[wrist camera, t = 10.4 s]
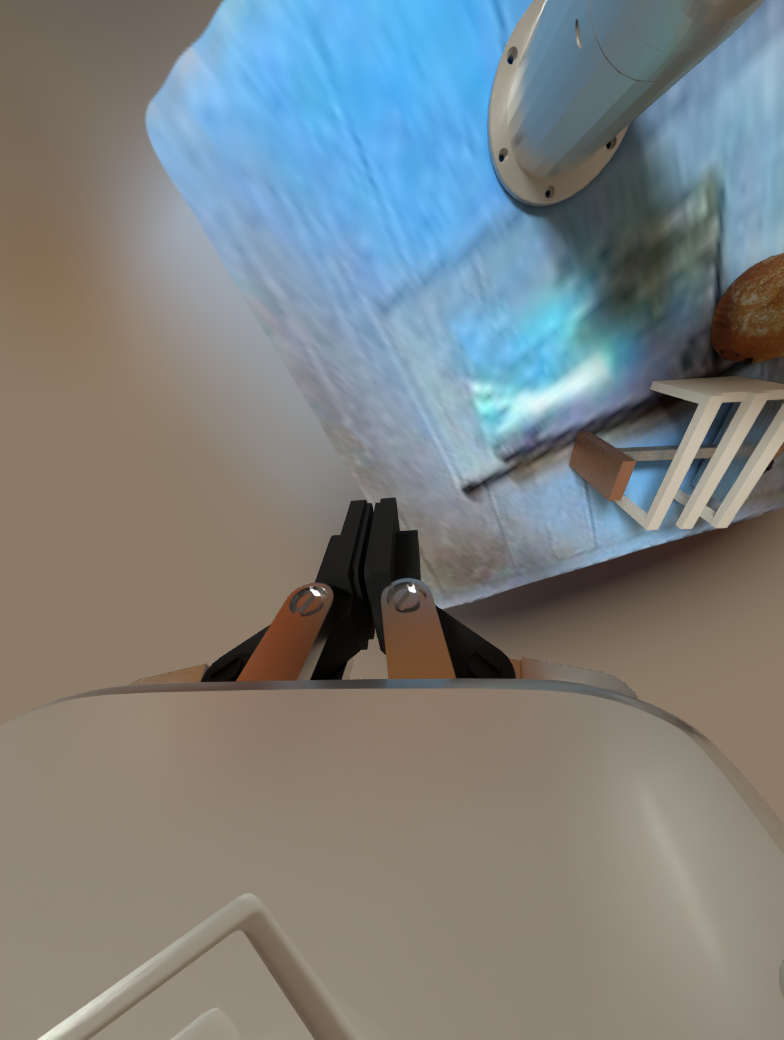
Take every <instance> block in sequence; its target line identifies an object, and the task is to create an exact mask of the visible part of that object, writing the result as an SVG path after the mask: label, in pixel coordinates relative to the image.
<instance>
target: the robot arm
mask: <svg viewBox="0 0 784 1040" xmlns="http://www.w3.org/2000/svg"><path fill="white" fill-rule="evenodd" d="M764 1H765V0H534V1H533V2H532V3H531V4H530V6H529V7H528V9H527V10H526V11H525V13H524V14H523V16H522V17H521V18H520V20H519V21H518V23H517V25H516V27H515V28H514V30H513V32H512V34H511V36H510V38H509V40H508V42H507V44H506V46H505V49H504V51H503V54H502V56H501V59H500V62H499V65H498V68H497V71H496V74H495V77H494V81H493V84H492V89H491V94H490V100H489V105H488V118H487V136H488V147H489V152H490V157H491V162H492V165H493V167H494V170H495V173H496V175H497V178H498V179H499V181H500V182H501V184H502V185H503V187H504V189H505V190H506V191H507V192H508V193H509V194H510V195H511V196H512V197H513V198H515V199H517V200H518V201H520V202H522V203H524V204H527V205H532V206H550V205H553V204H557V203H560V202H562V201H564V200H566V199H568V198H570V197H572V196H573V195H575V194H576V193H577V192H579V191H580V190H582V189H583V188H584V187H585V186H587V185H588V184H589V183H590V182H591V181H592V180H593V179H594V178H595V177H596V176H597V175H598V174H599V173H600V172H601V170H602V169H603V168H604V167H605V166H606V164H607V163H608V162H609V161H610V159H611V158H612V156H613V155H614V153H615V152H616V150H617V149H618V147H619V145H620V143H621V141H622V139H623V137H624V135H625V133H626V131H627V129H628V127H629V125H630V123H631V122H632V121H634V120H635V119H636V118H637V117H638V116H639V115H640V114H642V113H643V112H644V111H645V110H646V109H647V108H648V107H650V106H651V105H652V104H653V103H654V102H655V101H656V100H658V99H659V98H660V97H661V96H662V95H663V94H664V93H665V92H667V91H668V90H669V89H670V88H671V87H672V86H673V85H675V84H676V83H677V82H678V81H679V80H680V79H681V78H683V77H684V76H685V75H686V74H687V73H688V72H689V71H691V70H692V69H693V68H694V67H695V66H696V65H697V64H699V63H700V62H701V61H702V60H703V59H704V58H705V57H707V56H708V55H709V54H710V53H711V52H713V51H714V50H715V49H716V48H717V47H718V46H719V45H721V44H722V43H723V42H724V41H725V40H726V39H727V38H729V37H730V36H731V35H732V34H733V33H734V32H735V31H736V30H737V29H738V28H739V27H741V26H742V25H743V23H744V22H745V21H746V20H747V19H748V18H749V17H750V16H751V15H752V14H753V13H754V12H755V11H756V10H757V9H758V8H759V7H760V6H761V5H762V4H763V3H764ZM508 59H511V60H512V65H511V64H509V63H508V62H507V60H508ZM606 144H608V145H609V147H608V149H607V148H606ZM499 156H503V162H500V161H499ZM546 192H548V193H549V197H548V198H547V197H546V196H545V193H546ZM375 629H376V633H377V638H378V641H379V645H380V649H381V651H382V652H383V653H384V654H385V655H386V658H387V669H388V679H368V680H367V679H363V680H349V677H350V673H351V670H352V667H353V661H354V660H353V656H354V655H356V654H357V653H358V652H359V651H360V650H364V649H365V650H367V647H368V640H369V639H373V638H374V634H375ZM0 1040H784V823H783V822H782V821H781V819H780V818H779V817H778V816H777V814H776V813H775V812H774V810H772V808H771V807H770V806H769V805H768V803H767V802H766V801H765V799H764V798H763V797H762V796H761V795H760V794H759V792H758V791H757V790H756V789H755V787H754V786H753V785H752V784H751V783H750V782H749V780H748V779H747V778H746V777H745V776H744V775H743V774H742V772H741V771H740V770H739V769H738V768H737V767H736V766H735V765H734V764H733V762H732V761H731V760H730V759H729V758H728V757H727V756H726V755H725V754H724V753H723V752H722V751H721V750H720V749H719V748H718V747H717V746H716V745H715V744H714V743H713V742H711V741H710V740H709V739H708V738H707V737H706V736H704V735H703V734H702V733H701V732H700V731H698V730H697V729H696V728H694V727H693V726H691V725H690V724H688V723H687V722H685V721H684V720H682V719H680V718H679V717H677V716H675V715H673V714H671V713H669V712H667V711H665V710H663V709H661V708H658V707H656V706H654V705H652V704H649V703H647V702H644V701H641V700H639V699H638V698H637V696H636V694H635V692H634V691H633V690H632V689H631V688H629V686H628V685H627V684H626V683H625V682H623V681H621V680H620V679H618V678H617V677H615V676H613V675H610V674H607V673H604V672H601V671H595V670H590V669H585V668H580V667H574V666H569V665H564V664H558V663H553V662H548V661H542V660H537V659H532V658H526V657H521V660H516V659H510V658H508V657H507V656H506V655H505V654H504V653H503V652H502V651H501V650H499V649H498V648H496V647H495V646H493V645H492V644H490V643H489V642H488V641H486V640H485V639H483V638H482V637H480V636H479V635H478V634H476V633H475V632H473V631H472V630H470V629H469V628H467V627H466V626H465V625H463V624H462V623H460V622H459V621H457V620H456V619H454V618H453V617H451V616H450V615H449V614H447V613H446V612H444V611H443V610H442V609H440V608H439V607H437V606H436V605H435V603H434V599H433V596H432V592H431V591H430V589H429V587H428V586H427V585H426V584H425V583H424V582H422V581H421V574H420V556H419V542H418V531H417V530H411V531H400V528H399V520H398V512H397V503H396V498H383V499H381V501H380V503H376V504H375V509H374V511H373V506H372V503H367V501H366V500H357V501H351V503H350V506H349V509H348V512H347V516H346V519H345V522H344V525H343V529H342V532H341V535H333V536H332V537H331V538H330V541H329V544H328V547H327V549H326V553H325V555H324V558H323V561H322V564H321V567H320V569H319V572H318V575H317V578H316V581H315V583H310V584H306V585H303V586H301V587H299V588H297V589H296V590H295V591H293V592H292V593H291V594H290V595H289V596H288V598H287V599H286V601H285V602H284V604H283V605H282V607H281V609H280V610H279V612H278V614H277V615H276V617H275V618H274V620H273V622H272V623H271V624H270V625H269V626H267V627H266V628H264V629H263V630H261V631H260V632H258V633H257V634H255V635H254V636H252V637H251V638H249V639H248V640H246V641H245V642H243V643H242V644H240V645H238V646H237V647H236V648H234V649H232V650H231V651H229V652H228V653H226V654H225V655H223V656H222V657H220V658H219V659H218V660H217V661H215V662H214V663H213V664H212V665H211V666H210V667H209V666H208V665H207V664H202V665H198V666H194V667H190V668H186V669H181V670H177V671H173V672H169V673H165V674H160V675H156V676H152V677H148V678H144V679H140V680H137V681H135V682H132V683H130V684H128V685H127V686H120V687H111V688H105V689H100V690H94V691H89V692H84V693H81V694H77V695H73V696H69V697H65V698H62V699H59V700H56V701H53V702H51V703H48V704H45V705H42V706H39V707H37V708H35V709H32V710H30V711H28V712H26V713H24V714H21V715H19V716H18V717H16V718H13V719H11V720H9V721H7V722H5V723H4V724H2V725H1V726H0Z"/></svg>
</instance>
